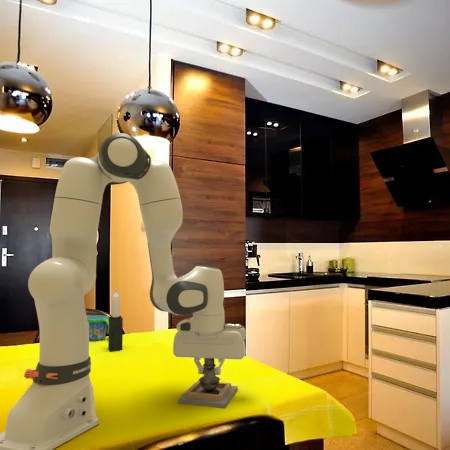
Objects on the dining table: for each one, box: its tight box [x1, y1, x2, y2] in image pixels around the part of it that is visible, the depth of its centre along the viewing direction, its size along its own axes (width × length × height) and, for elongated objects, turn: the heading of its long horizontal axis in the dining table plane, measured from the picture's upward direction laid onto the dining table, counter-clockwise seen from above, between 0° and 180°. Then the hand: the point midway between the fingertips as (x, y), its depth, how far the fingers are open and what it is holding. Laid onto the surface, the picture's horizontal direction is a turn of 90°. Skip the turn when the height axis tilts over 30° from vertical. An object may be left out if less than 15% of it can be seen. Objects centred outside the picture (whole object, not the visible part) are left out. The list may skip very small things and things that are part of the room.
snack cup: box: [87, 315, 110, 342], centre depth 172 cm, size 16×10×10 cm
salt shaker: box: [198, 358, 221, 394], centre depth 104 cm, size 6×6×12 cm
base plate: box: [177, 379, 239, 409], centre depth 103 cm, size 13×13×2 cm
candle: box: [107, 288, 124, 353], centre depth 154 cm, size 5×5×25 cm
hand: (209, 373), depth 104 cm, fingers closed on salt shaker, 3 cm apart
